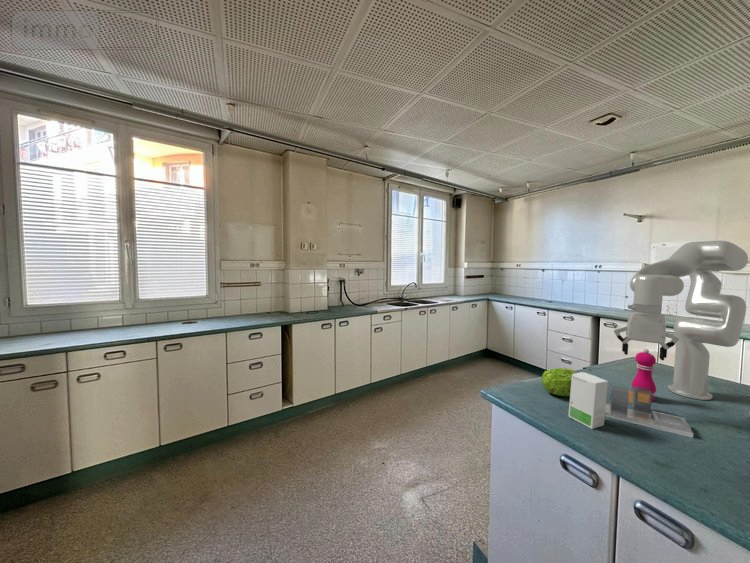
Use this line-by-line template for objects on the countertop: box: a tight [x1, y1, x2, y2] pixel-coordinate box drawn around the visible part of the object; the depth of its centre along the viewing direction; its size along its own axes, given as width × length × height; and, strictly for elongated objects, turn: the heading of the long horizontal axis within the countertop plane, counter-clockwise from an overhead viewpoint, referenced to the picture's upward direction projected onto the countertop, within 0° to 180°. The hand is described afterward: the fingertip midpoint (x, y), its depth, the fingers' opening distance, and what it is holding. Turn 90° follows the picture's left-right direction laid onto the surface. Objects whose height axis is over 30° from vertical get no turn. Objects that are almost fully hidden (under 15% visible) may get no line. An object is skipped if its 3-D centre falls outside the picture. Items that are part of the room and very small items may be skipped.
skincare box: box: [568, 371, 609, 430], centre depth 99 cm, size 8×7×16 cm
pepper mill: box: [631, 348, 657, 402], centre depth 116 cm, size 7×7×20 cm
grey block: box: [632, 386, 653, 414], centre depth 106 cm, size 6×4×8 cm
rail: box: [605, 384, 694, 439], centre depth 99 cm, size 8×22×10 cm, turn 54°
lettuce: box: [541, 367, 578, 397], centre depth 123 cm, size 12×24×13 cm
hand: (643, 356), depth 105 cm, fingers open, 9 cm apart
